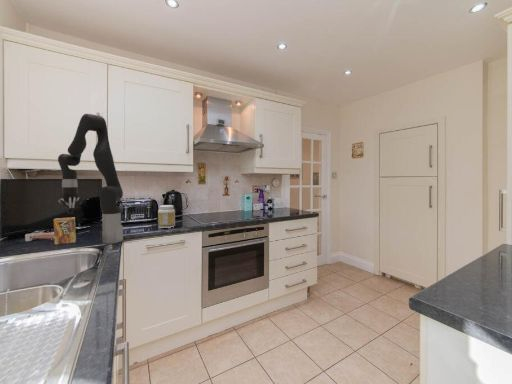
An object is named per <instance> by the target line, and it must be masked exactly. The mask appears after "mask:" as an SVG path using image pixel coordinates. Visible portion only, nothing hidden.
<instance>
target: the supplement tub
mask: <svg viewBox="0 0 512 384" xmlns="http://www.w3.org/2000/svg"><path fill="white" fill-rule="evenodd" d="M174 208H175V207H174V204H173V205H172V204H164V205H163V204H162V205H158V210H157V216H158V219H157V222H158V223H157V226H158V229H161V228H168V229H172V228H171V227H173V228H175V227H176V211H175V209H174ZM174 226H175V227H174Z"/></svg>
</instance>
